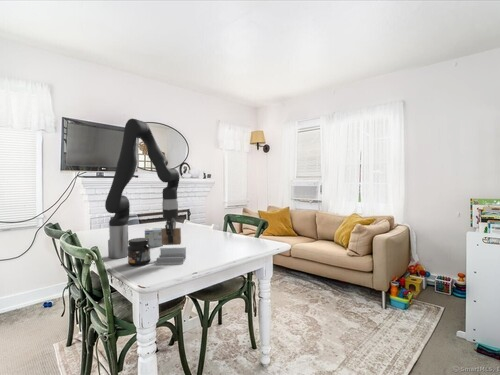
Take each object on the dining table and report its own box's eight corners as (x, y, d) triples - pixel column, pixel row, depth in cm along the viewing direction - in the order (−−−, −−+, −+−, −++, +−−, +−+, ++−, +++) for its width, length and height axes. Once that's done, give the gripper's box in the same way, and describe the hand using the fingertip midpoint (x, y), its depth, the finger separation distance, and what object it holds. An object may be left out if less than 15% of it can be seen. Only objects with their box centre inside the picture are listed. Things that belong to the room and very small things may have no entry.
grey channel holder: (156, 264, 134) (155, 252, 134) (161, 259, 143) (160, 247, 143) (182, 263, 135) (182, 251, 135) (186, 258, 144) (185, 247, 144)
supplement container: (124, 263, 137) (124, 239, 136) (145, 259, 144) (144, 236, 144) (133, 268, 129) (132, 243, 129) (154, 263, 137) (153, 239, 136)
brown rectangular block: (161, 245, 137) (161, 229, 137) (163, 243, 140) (162, 228, 139) (180, 244, 137) (179, 228, 137) (181, 243, 140) (180, 227, 140)
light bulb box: (162, 243, 178) (162, 227, 178) (163, 246, 172) (162, 229, 172) (145, 245, 175) (144, 228, 175) (144, 247, 169) (144, 230, 168)
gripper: (166, 207, 145) (167, 239, 145) (158, 209, 131) (160, 245, 131) (180, 206, 145) (181, 239, 146) (174, 209, 131) (176, 245, 132)
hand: (171, 242), depth 138 cm, fingers closed on brown rectangular block, 2 cm apart
